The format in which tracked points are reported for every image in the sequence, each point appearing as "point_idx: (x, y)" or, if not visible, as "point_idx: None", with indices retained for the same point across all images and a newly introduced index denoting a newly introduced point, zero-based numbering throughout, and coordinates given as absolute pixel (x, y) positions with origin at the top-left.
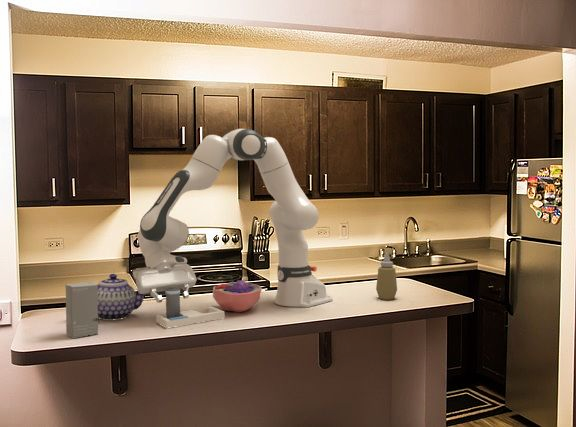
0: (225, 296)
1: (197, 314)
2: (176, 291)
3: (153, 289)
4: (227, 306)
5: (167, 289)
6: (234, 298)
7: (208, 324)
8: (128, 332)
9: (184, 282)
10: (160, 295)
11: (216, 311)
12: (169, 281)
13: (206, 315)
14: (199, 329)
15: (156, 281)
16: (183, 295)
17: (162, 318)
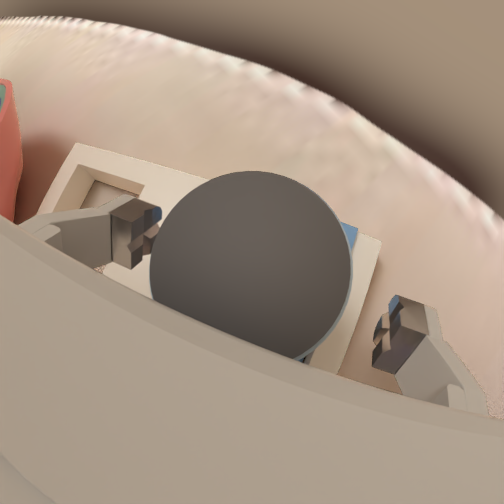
0: (2, 145)
1: (167, 197)
2: (276, 175)
3: (472, 410)
4: (17, 181)
5: (287, 336)
6: (16, 111)
7: (192, 146)
8: (492, 359)
9: (22, 229)
10: (408, 327)
11: (71, 183)
12: (179, 373)
13: (149, 164)
14: (279, 126)
15: (446, 490)
16: (143, 242)
17: (355, 310)
